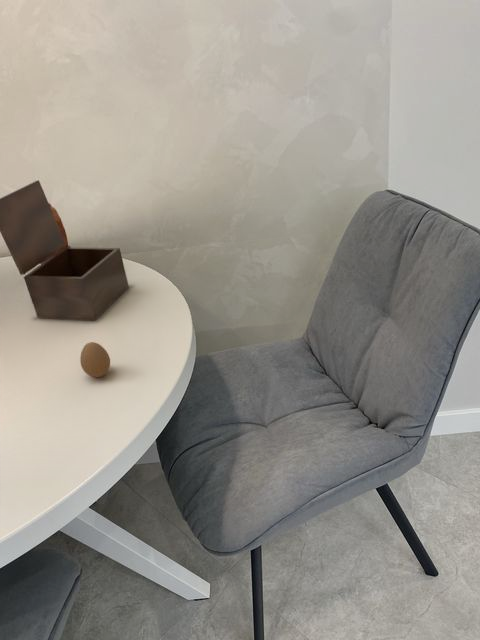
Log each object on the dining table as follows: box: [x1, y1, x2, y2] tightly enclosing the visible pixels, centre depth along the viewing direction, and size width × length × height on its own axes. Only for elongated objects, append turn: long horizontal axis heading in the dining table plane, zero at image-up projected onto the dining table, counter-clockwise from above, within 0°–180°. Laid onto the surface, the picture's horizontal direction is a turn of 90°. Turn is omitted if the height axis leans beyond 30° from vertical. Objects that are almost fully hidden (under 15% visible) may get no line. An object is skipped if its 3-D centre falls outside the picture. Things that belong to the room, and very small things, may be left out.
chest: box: [23, 246, 130, 322], centre depth 109 cm, size 13×15×9 cm
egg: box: [79, 341, 111, 378], centre depth 86 cm, size 4×4×6 cm
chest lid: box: [0, 180, 66, 276], centre depth 104 cm, size 14×15×1 cm
